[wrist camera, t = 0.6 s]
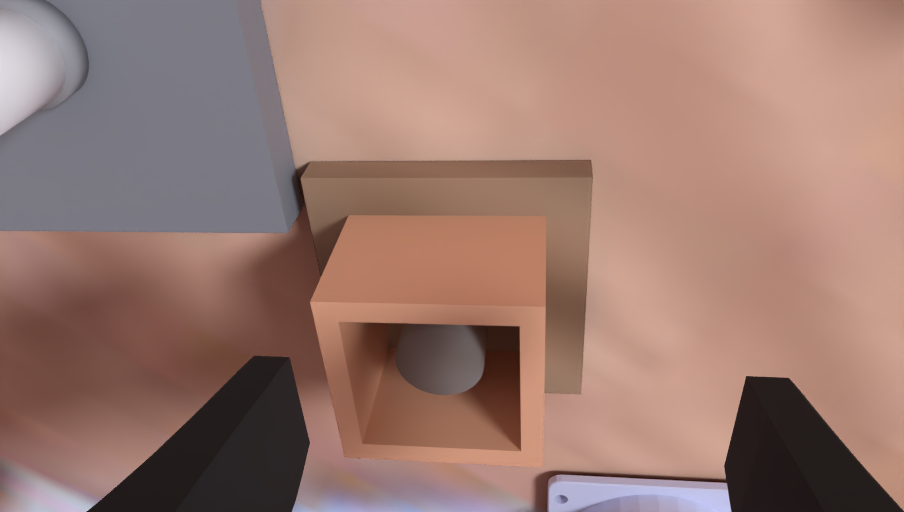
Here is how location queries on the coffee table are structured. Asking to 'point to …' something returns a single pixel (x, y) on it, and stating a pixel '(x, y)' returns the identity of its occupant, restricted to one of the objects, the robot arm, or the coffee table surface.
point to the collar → (435, 302)
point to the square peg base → (142, 118)
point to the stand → (470, 194)
